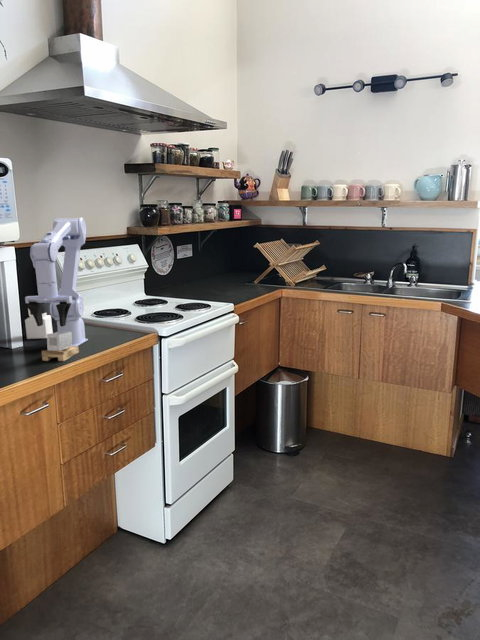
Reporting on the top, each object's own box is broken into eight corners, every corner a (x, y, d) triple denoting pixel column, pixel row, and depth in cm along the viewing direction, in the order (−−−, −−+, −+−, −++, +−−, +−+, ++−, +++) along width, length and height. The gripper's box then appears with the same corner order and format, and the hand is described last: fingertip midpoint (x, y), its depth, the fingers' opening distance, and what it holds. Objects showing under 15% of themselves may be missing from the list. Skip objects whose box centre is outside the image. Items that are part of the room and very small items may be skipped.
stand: (58, 351, 171) (57, 342, 170) (78, 352, 169) (77, 343, 169) (42, 360, 161) (41, 351, 160) (63, 361, 160) (62, 351, 159)
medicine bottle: (53, 333, 195) (49, 302, 193) (46, 338, 188) (43, 305, 186) (33, 334, 195) (30, 302, 192) (26, 339, 188) (22, 306, 186)
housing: (60, 346, 169) (60, 331, 168) (72, 347, 168) (71, 331, 168) (47, 350, 161) (46, 334, 160) (59, 350, 160) (58, 334, 160)
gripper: (17, 284, 158) (23, 328, 161) (63, 284, 155) (67, 328, 158) (30, 281, 164) (35, 323, 167) (73, 280, 162) (77, 323, 165)
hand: (51, 325), depth 163 cm, fingers open, 7 cm apart
